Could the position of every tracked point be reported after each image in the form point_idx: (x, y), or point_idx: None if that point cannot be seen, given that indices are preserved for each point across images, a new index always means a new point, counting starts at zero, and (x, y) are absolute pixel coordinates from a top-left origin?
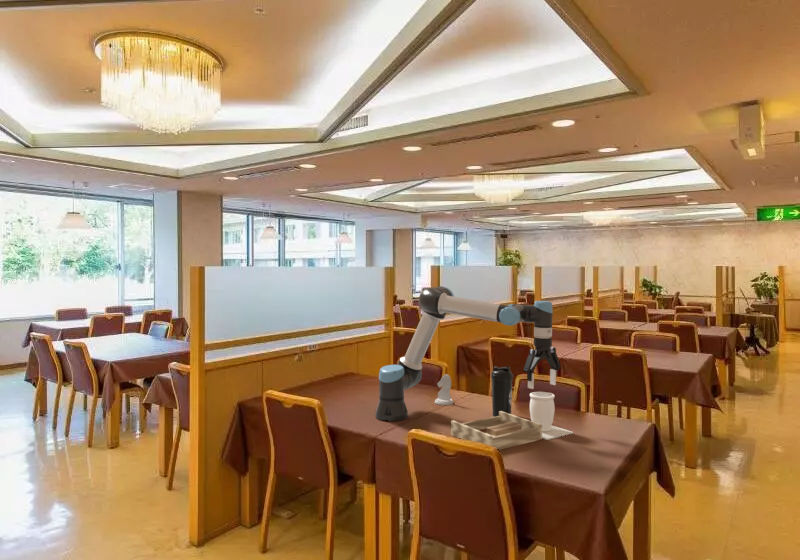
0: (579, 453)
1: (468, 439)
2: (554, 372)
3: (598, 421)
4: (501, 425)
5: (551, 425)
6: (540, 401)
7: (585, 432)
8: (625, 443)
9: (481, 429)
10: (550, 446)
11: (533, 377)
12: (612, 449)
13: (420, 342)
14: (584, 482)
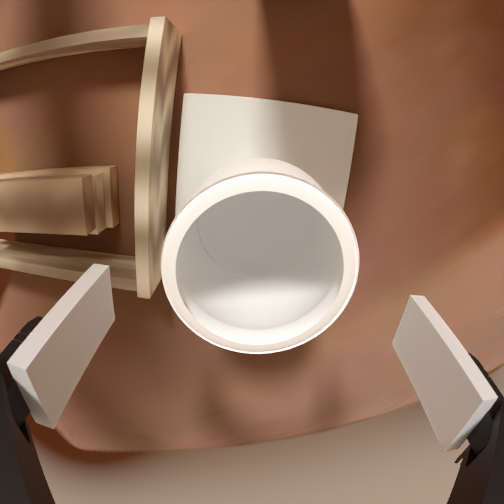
0: (168, 391)
1: None
2: (439, 427)
3: (493, 274)
4: (20, 195)
5: (339, 200)
6: (189, 295)
7: (362, 318)
8: (338, 414)
9: (68, 55)
10: (138, 324)
11: (65, 393)
12: (267, 419)
13: None
14: (73, 431)
